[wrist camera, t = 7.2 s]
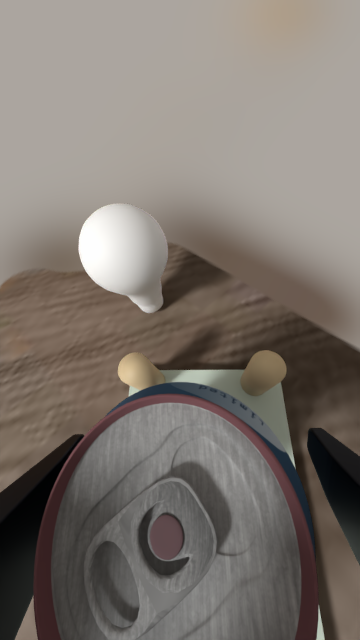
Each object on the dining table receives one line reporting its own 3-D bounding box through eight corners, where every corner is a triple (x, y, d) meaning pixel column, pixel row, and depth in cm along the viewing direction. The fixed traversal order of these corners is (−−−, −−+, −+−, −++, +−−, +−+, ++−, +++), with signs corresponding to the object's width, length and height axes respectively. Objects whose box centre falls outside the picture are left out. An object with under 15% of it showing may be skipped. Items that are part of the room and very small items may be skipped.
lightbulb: (172, 274, 24) (144, 171, 14) (190, 321, 21) (169, 232, 12) (120, 292, 24) (56, 200, 14) (130, 341, 21) (59, 269, 11)
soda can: (207, 386, 17) (194, 322, 6) (274, 473, 14) (461, 624, 3) (133, 445, 16) (-28, 485, 5) (190, 552, 13) (83, 1121, 2)
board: (336, 755, 10) (477, 1136, 5) (99, 702, 12) (0, 940, 6) (274, 372, 18) (301, 349, 13) (136, 373, 20) (106, 353, 14)
